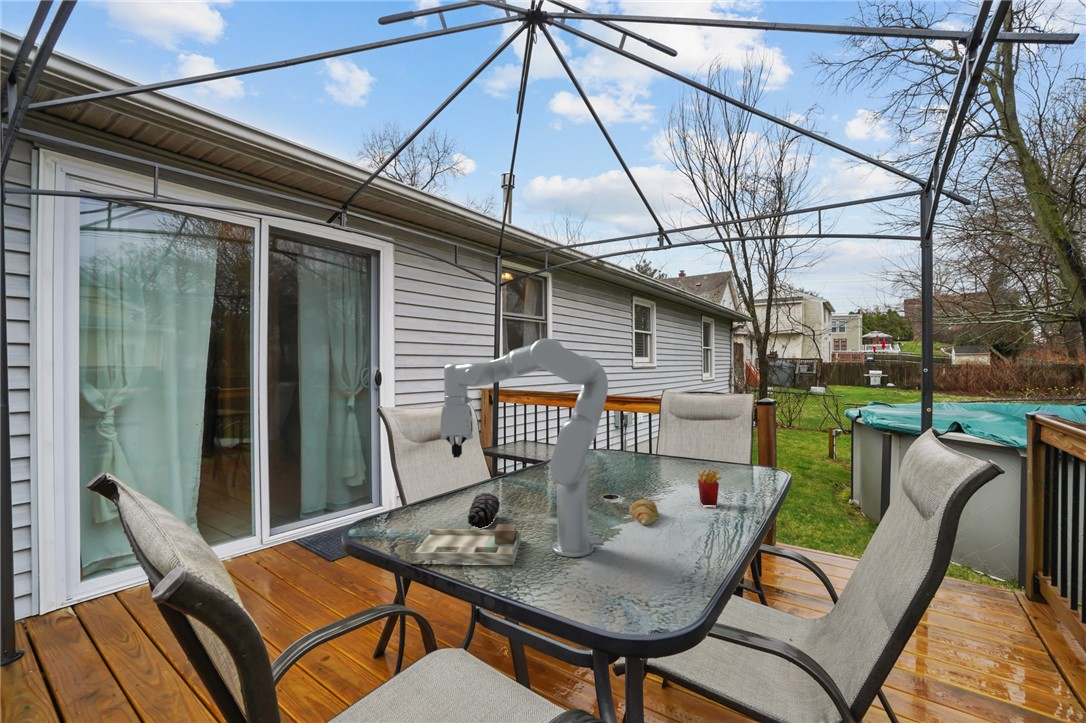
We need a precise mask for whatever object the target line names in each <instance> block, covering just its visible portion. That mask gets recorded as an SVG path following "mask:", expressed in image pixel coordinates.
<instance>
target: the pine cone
mask: <svg viewBox="0 0 1086 723" xmlns="http://www.w3.org/2000/svg"><path fill="white" fill-rule="evenodd" d="M500 504H501V503H500V501H499V498H498V497H497V496H495V495H494V494H493V493H490V492H482V493H481V492H480V493H479V494H478V495H476V496H475V497H474V499H473V501H472V503H471V505H470V507H469V508H470V509H469V513H468V516H467V519H468V520H467V523H468V524H469V525H470V527H471V526H475V527H478V528H482V527H485V526H488V525H489V524H491V522H493V519H494V517H496V515H497V514H498V513H499V509H500Z"/></svg>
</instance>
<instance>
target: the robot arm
mask: <svg viewBox="0 0 1086 723" xmlns="http://www.w3.org/2000/svg"><path fill="white" fill-rule="evenodd" d="M443 369H444V370H443V376H444V377H443V378H444V379H443V380H444V382H443V383H444V384H443V385H444V405H442V408H441V415H440V437H439V438H440V439H441V440H445V441H447V442H448V444H450V445H451V455H452V456H453V458H454V459H455V458H458V459H459V458H460V457H461V455H462V454H463V443H464V442H465V441H467V440H468V441H469V440H471V439H473V438H474V435H473V434H474V433H473V432H474V431H473V430H474V422H473V414H472V412H473V411H472V407H471V405H470V404H469V403H472V402H473V399H472V397H469V395H468V387H472V388H473V387H481V386H487V385H492V384H495V383H497V382H498V383H499V382H501V381H505V380H508V379H511V378H517V377H520V376H524V375H527V374H530V373H534V372H537V371H540V370H541V371H542V370H545V371H547V372H549V373H551V374H552V375H554V376H556V377H558V378H560V379H562V380H563V381H566V382H567V383H569V384H572V385H577V386H580V390H579V393H578V396H577V398H576V402H575V406H574V409H573V411H572V414H571V416H570V418H569V419H567V420H566V421H565V422H564V423H563V425H562V426H561V428H560V429H559V433H558V437H557V439H556V443H555V446H554V449H553V452H552V456H551V459H550V463H549V472H550V474H549V475H550V476H551V478H552V479H553V480H552V481H554V482H555V483H556V484H557V486H556V508H557V509H556V510H557V511H556V515H557V516H556V517H557V519H556V520H557V526H556V527H557V528H556V529H557V541H555V542H554V543H553V544H552V552H554V553H555V554H557V555H559V556H562V557H567V558H581V557H585V556H588V555H590V554H591V553H593V552H594V549H595V548H594V547H595V545H596V546H604V538H600V536H592V535H590V531H589V474H590V473H589V472H590V470H589V469H590V468H589V467H590V465H589V464H590V463H589V458H588V452H589V449H590V446H591V443H593V441H595V438H596V437H597V432H598V429H599V426H600V425H599V424H600V422H601V418H602V414H603V411H604V407H605V403H606V400H607V398H608V397H607V396H608V393H609V380H608V375H607V373H606V371H605V369H604V368H603V366H602V365H601V364H600V363H599V362H598V361H597V360H596V359H594V358H593V357H591V356H588V355H580V354H579V353H576V352H574V351H571V350H570V349H568V348H565V347H564V346H563V345H562V343H561V342H560V341H558V340H556V339H552V338H547V337H544V338H540V339H537V340H536V341H535V342H534V343H532V344H529V345H525V346H522V347H519V348H515V349H513V350H511V351H509V352H508V353H507V355H505V356H503V357H500V358H497V359H496V358H495V359H494V360H490V361H486V362H473V363H467V364H463V363H451V364H450V363H449V364H446V365H445V366H444V368H443ZM456 437H458V438H457V439H456ZM456 440H457V441H456Z"/></svg>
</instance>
